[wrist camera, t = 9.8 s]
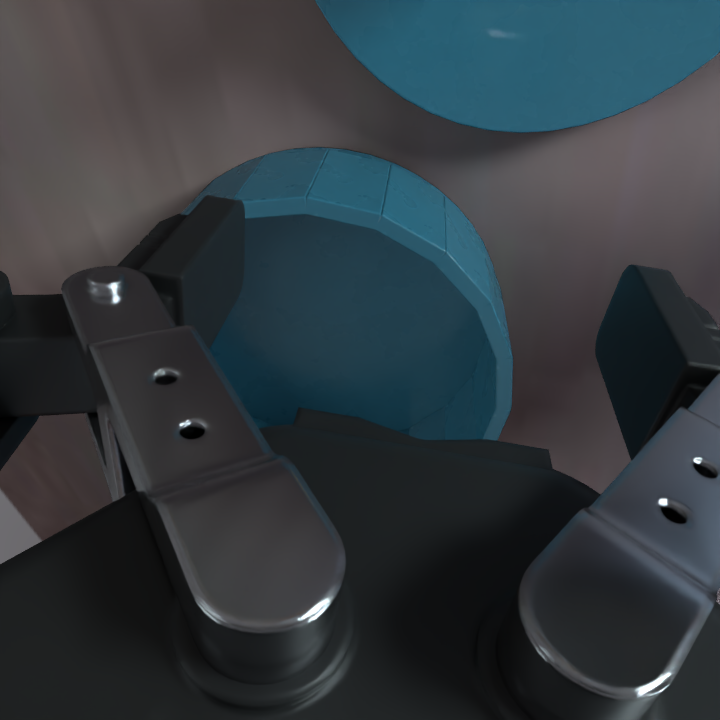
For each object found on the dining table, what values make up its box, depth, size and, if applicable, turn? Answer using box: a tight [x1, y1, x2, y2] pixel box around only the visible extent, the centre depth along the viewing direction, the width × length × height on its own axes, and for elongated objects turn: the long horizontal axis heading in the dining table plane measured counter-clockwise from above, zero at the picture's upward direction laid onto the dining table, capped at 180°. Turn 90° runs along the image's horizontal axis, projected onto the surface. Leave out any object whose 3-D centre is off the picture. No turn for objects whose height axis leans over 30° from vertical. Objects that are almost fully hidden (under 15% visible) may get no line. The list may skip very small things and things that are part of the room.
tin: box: [181, 147, 513, 441], centre depth 26 cm, size 15×15×6 cm
